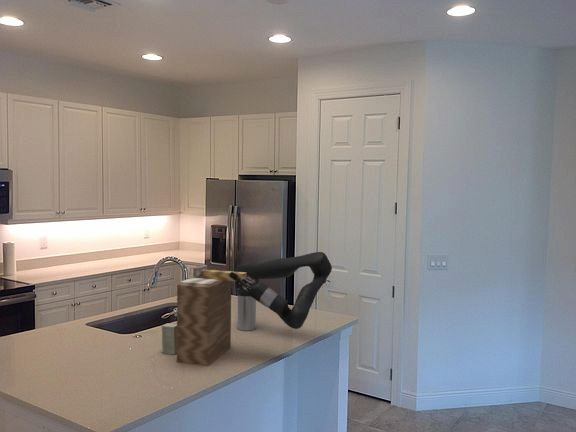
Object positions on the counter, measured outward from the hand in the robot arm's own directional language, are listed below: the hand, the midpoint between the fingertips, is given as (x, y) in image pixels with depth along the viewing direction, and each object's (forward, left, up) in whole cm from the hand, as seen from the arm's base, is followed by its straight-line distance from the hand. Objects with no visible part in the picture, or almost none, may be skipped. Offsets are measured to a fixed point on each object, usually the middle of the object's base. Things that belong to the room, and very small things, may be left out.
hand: (232, 272), depth 220 cm
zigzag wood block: (-3, -11, -35) cm, 37 cm away
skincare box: (-11, -24, -35) cm, 44 cm away
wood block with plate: (-3, -4, -3) cm, 6 cm away
